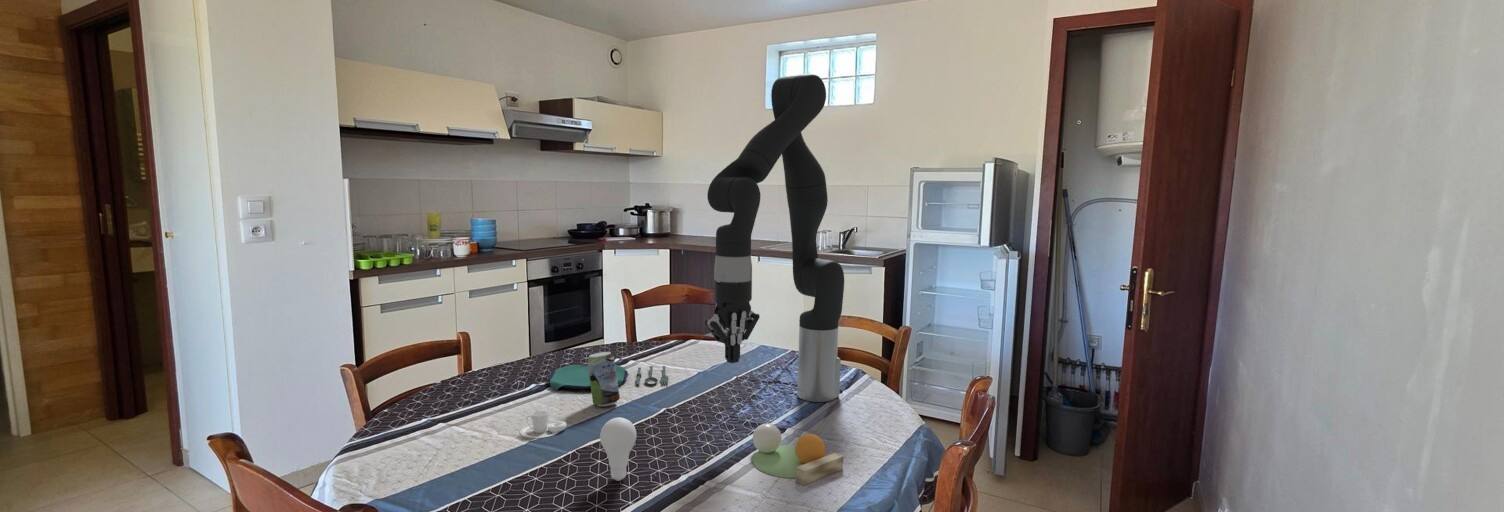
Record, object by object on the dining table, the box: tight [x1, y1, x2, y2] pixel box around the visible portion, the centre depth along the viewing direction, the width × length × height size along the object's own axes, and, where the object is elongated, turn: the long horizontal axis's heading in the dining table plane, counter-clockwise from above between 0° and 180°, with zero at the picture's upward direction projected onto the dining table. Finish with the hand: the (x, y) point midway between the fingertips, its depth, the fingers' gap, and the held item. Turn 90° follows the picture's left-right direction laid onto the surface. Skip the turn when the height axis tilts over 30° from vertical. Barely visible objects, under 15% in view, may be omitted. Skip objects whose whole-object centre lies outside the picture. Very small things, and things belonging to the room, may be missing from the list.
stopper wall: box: [795, 452, 844, 486], centre depth 120 cm, size 10×2×2 cm, turn 131°
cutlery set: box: [547, 363, 669, 391], centre depth 173 cm, size 20×30×2 cm, turn 98°
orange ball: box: [794, 433, 826, 464], centre depth 125 cm, size 6×6×6 cm
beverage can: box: [586, 351, 620, 408], centre depth 154 cm, size 6×7×12 cm
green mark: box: [752, 444, 826, 479], centre depth 126 cm, size 14×14×1 cm
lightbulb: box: [599, 416, 637, 482], centre depth 117 cm, size 6×6×11 cm
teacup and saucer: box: [519, 410, 567, 439], centre depth 138 cm, size 9×8×4 cm
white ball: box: [752, 422, 782, 453], centre depth 130 cm, size 6×6×6 cm
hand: (732, 361), depth 138 cm, fingers closed
